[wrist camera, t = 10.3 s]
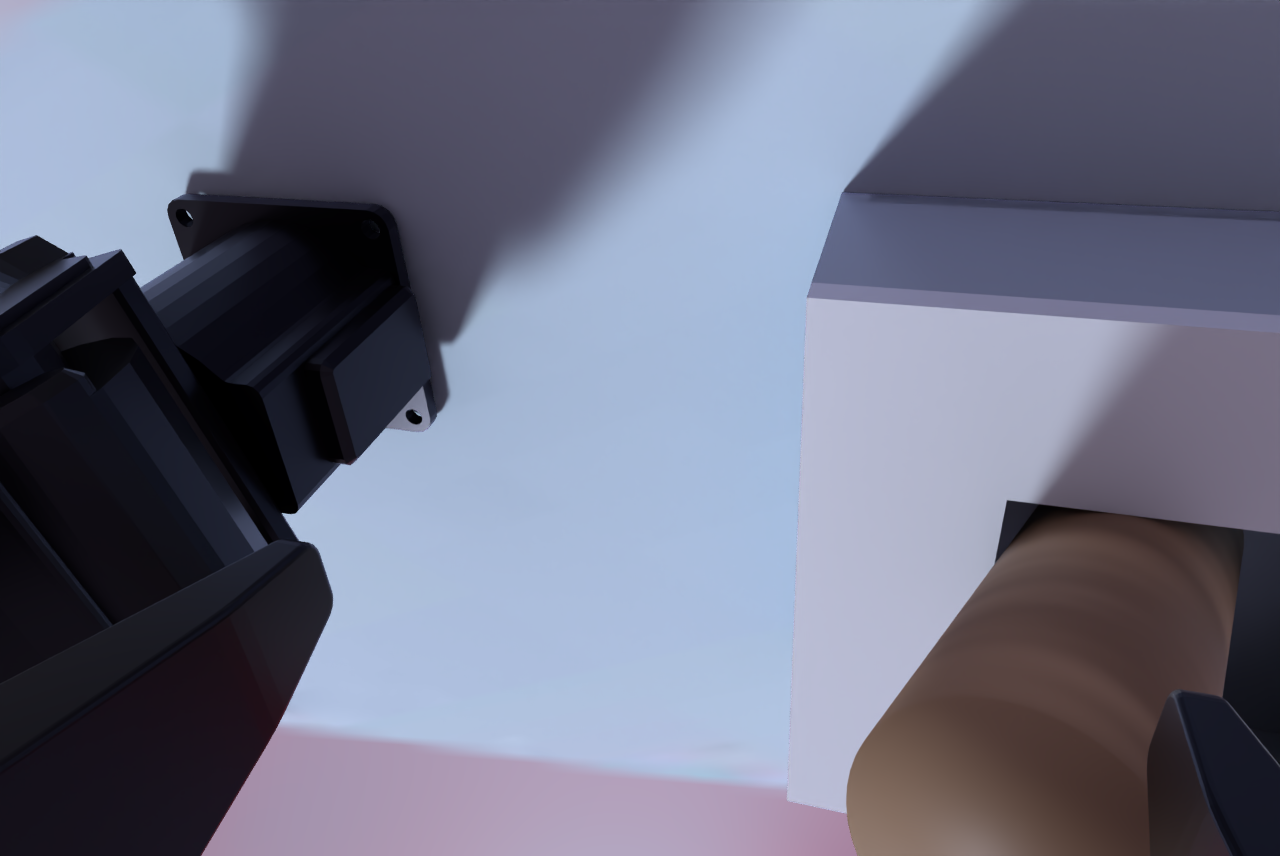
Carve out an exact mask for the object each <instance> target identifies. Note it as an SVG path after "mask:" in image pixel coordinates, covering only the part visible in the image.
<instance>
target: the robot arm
mask: <svg viewBox="0 0 1280 856" xmlns="http://www.w3.org/2000/svg"><path fill="white" fill-rule="evenodd" d="M167 211H168V216H169V220H170V222H171V225H172V228H173V231H174V234H175V237H176V239H177V242H178V245H179V248H180V251H181V254H182V256H183V259H184V261H182V262H180V263H179V264H177V265H176V266H174V267H172V268H171V269H169V270H168V271H166V272H165V273H163V274H161V275H160V276H158V277H157V278H155V279H153V280H152V281H150V282H149V283H147V284H145V285H144V286H142V287H141V288H140V287H139V286H138V284H137V283H136V281H135V279H134V278H133V276H134V275H135V274H136V272H135V270H134V269H133V267H132V265H131V264H130V262H129V261H128V259H127V257H126V256H125V254H124V253H123V251H122V250H121V249H119V250H115V251H112V252H108V253H105V254H102V255H98V256H95V257H91V258H88V257H87V256H85V255H84V256H79V257H76V256H75V255H74V253H73V252H71V253H67V252H65V251H63V250H62V249H60V248H58V247H56V246H55V245H53V244H51V243H49V242H48V241H46V240H44V239H42V238H41V237H39V236H37V235H36V236H33V237H29V238H26V239H23V240H20V241H17V242H15V243H13V244H11V245H9V246H7V247H5V248H3V249H1V250H0V856H201V855H202V853H203V852H204V850H205V848H206V847H207V845H208V843H209V841H210V840H211V838H212V837H213V835H214V833H215V832H216V830H217V828H218V827H219V825H220V823H221V822H222V820H223V818H224V817H225V815H226V813H227V812H228V810H229V808H230V807H231V805H232V803H233V801H234V800H235V798H236V796H237V795H238V793H239V791H240V790H241V788H242V786H243V785H244V783H245V781H246V779H247V778H248V776H249V775H250V773H251V771H252V769H253V768H254V766H255V765H256V763H257V761H258V760H259V758H260V756H261V755H262V753H263V751H264V749H265V748H266V746H267V744H268V743H269V741H270V739H271V737H272V735H273V734H274V732H275V730H276V728H277V726H278V724H279V722H280V720H281V718H282V716H283V715H284V713H285V711H286V709H287V706H288V704H289V702H290V700H291V698H292V696H293V694H294V691H295V689H296V687H297V685H298V683H299V681H300V679H301V676H302V674H303V672H304V670H305V668H306V666H307V664H308V662H309V659H310V657H311V655H312V653H313V651H314V649H315V647H316V644H317V642H318V640H319V638H320V636H321V634H322V632H323V629H324V627H325V625H326V623H327V621H328V619H329V616H330V614H331V610H332V606H333V594H332V590H331V587H330V584H329V581H328V578H327V575H326V572H325V568H324V565H323V562H322V559H321V556H320V553H319V551H318V549H317V548H316V547H315V546H314V545H313V544H310V543H307V542H301V541H299V540H298V538H297V537H296V535H295V533H294V532H293V530H292V529H291V527H290V526H289V524H288V522H287V521H286V519H285V518H284V516H283V514H282V513H287V514H295V513H296V512H297V511H298V510H299V509H300V508H301V507H302V506H303V505H304V503H305V502H306V501H307V500H308V499H309V498H310V497H311V496H312V495H313V494H314V493H315V491H316V490H317V489H318V488H319V487H320V486H321V485H322V484H323V483H324V482H325V480H326V479H327V478H328V477H329V476H330V475H331V474H332V473H333V472H334V471H335V470H336V468H337V467H338V466H339V465H340V464H345V465H351V464H353V463H354V462H355V461H356V460H357V459H358V458H359V457H360V456H361V455H362V454H363V452H364V451H365V450H366V449H367V448H368V447H369V446H370V445H371V443H372V442H373V441H374V440H375V439H376V438H377V437H378V436H379V435H380V433H381V432H382V431H383V430H384V429H385V428H390V429H398V430H406V431H414V432H423V431H425V430H427V429H428V428H429V427H430V426H431V424H432V423H433V422H434V421H435V419H436V417H437V410H436V406H435V401H434V396H433V392H432V387H431V382H430V377H431V369H430V365H429V360H428V355H427V351H426V346H425V341H424V336H423V332H422V327H421V322H420V318H419V313H418V308H417V303H416V299H415V296H414V294H413V292H412V291H411V289H410V285H409V280H408V275H407V271H406V266H405V261H404V257H403V252H402V247H401V243H400V238H399V233H398V229H397V224H396V222H395V219H394V217H393V216H392V214H391V213H390V212H389V211H388V210H387V209H385V208H384V207H382V206H380V205H376V204H364V203H346V202H327V201H309V200H291V199H273V198H255V197H236V196H218V195H200V194H185V195H182V196H180V197H178V198H176V199H174V200H172V201H171V202H170V203H169V205H168V209H167ZM186 211H188V212H189V213H190V214H191V216H192V218H193V220H192V219H191V218H190V217H189V216H188V214H187V212H186ZM370 220H371V221H374V222H375V223H376V224H377V225H378V227H379V229H380V233H379V232H376V231H375V230H374V229H373V228H372V227H371V225H370ZM413 410H416V411H417V412H419V413H420V414H421V416H422V417H421V416H418V415H417V414H416V413H415V412H414V411H413ZM1147 788H1148V812H1149V836H1150V856H1280V765H1279V764H1278V762H1277V761H1276V760H1275V759H1274V758H1273V756H1272V755H1271V754H1270V753H1269V751H1268V750H1267V749H1266V748H1265V747H1264V745H1263V744H1262V743H1261V742H1260V740H1259V739H1258V738H1257V737H1256V736H1255V734H1254V733H1253V732H1252V731H1251V729H1250V728H1249V727H1248V726H1247V725H1246V723H1245V722H1244V721H1243V720H1242V718H1241V717H1240V716H1239V715H1238V714H1237V712H1236V711H1235V710H1234V709H1233V707H1232V706H1231V705H1230V704H1229V703H1228V702H1227V701H1226V700H1225V699H1223V698H1222V697H1220V696H1217V695H1212V694H1206V693H1200V692H1194V691H1188V690H1182V689H1177V690H1174V691H1172V692H1171V693H1170V694H1169V696H1168V697H1167V699H1166V702H1165V705H1164V707H1163V710H1162V713H1161V715H1160V718H1159V721H1158V724H1157V726H1156V729H1155V732H1154V734H1153V737H1152V740H1151V743H1150V746H1149V750H1148V757H1147Z"/></svg>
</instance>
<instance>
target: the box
mask: <svg viewBox="0 0 1280 856" xmlns="http://www.w3.org/2000/svg"><path fill="white" fill-rule="evenodd" d="M1039 504H1043V505H1051V506H1059V507H1067V508H1075V509H1083V510H1091V511H1099V512H1107V513H1115V514H1124V515H1132V516H1140V517H1148V518H1156V519H1164V520H1172V521H1180V522H1188V523H1196V524H1204V525H1212V526H1220V527H1228V528H1236V529H1243V533H1244V549H1243V556H1242V563H1241V570H1240V577H1239V584H1238V591H1237V598H1236V605H1235V612H1234V619H1233V626H1232V633H1231V640H1230V647H1229V654H1228V661H1227V668H1226V675H1225V682H1224V689H1223V696H1222V698H1223V699H1225V700H1226V701H1227V702H1228V703H1229V704H1230V705H1231V706H1232V707H1233V709H1234V710H1235V711H1236V712H1237V714H1238V715H1239V716H1240V717H1241V718H1242V720H1243V721H1244V722H1245V723H1246V725H1247V726H1248V727H1249V728H1250V729H1251V731H1252V732H1253V733H1254V734H1255V736H1256V737H1257V738H1258V739H1259V740H1260V742H1261V743H1262V744H1263V745H1264V747H1265V748H1266V749H1267V750H1268V751H1269V753H1270V754H1271V755H1272V756H1273V758H1274V759H1275V760H1276V761H1277V762H1278V764H1279V765H1280V212H1272V211H1249V210H1227V209H1204V208H1182V207H1159V206H1137V205H1114V204H1092V203H1069V202H1047V201H1025V200H1002V199H980V198H957V197H935V196H912V195H890V194H867V193H845V192H842V194H841V197H840V200H839V203H838V206H837V209H836V212H835V215H834V218H833V221H832V224H831V227H830V230H829V233H828V236H827V239H826V242H825V245H824V248H823V251H822V254H821V257H820V260H819V262H818V265H817V268H816V271H815V274H814V277H813V280H812V283H811V286H810V289H809V292H808V295H807V301H806V327H805V352H804V378H803V403H802V428H801V454H800V479H799V505H798V530H797V555H796V581H795V606H794V632H793V657H792V682H791V708H790V733H789V759H788V784H787V801H791V802H795V803H800V804H804V805H809V806H814V807H818V808H823V809H828V810H833V811H837V812H842V813H846V814H847V808H846V793H847V783H848V778H849V773H850V769H851V766H852V764H853V761H854V758H855V756H856V754H857V752H858V750H859V749H860V747H861V745H862V744H863V742H864V740H865V739H866V738H867V736H868V735H869V734H870V732H871V731H872V729H873V728H874V727H875V725H876V724H877V723H878V721H879V720H880V719H881V717H882V716H883V715H884V713H885V712H886V711H887V709H888V708H889V706H890V705H891V704H892V702H893V701H894V700H895V698H896V697H897V696H898V694H899V693H900V692H901V690H902V689H903V688H904V686H905V685H906V683H907V682H908V681H909V679H910V678H911V677H912V675H913V674H914V673H915V671H916V670H917V669H918V667H919V666H920V665H921V663H922V662H923V660H924V659H925V658H926V656H927V655H928V654H929V652H930V651H931V650H932V648H933V647H934V646H935V644H936V643H937V642H938V640H939V639H940V637H941V636H942V635H943V633H944V632H945V631H946V629H947V628H948V627H949V625H950V624H951V623H952V621H953V620H954V619H955V617H956V616H957V614H958V613H959V612H960V610H961V609H962V608H963V606H964V605H965V604H966V602H967V601H968V600H969V598H970V597H971V596H972V594H973V593H974V591H975V590H976V589H977V587H978V586H979V585H980V583H981V582H982V581H983V579H984V578H985V577H986V575H987V574H988V573H989V571H990V570H991V568H992V567H993V566H994V564H995V563H996V562H997V560H998V559H999V558H1000V556H1001V555H1002V554H1003V552H1004V551H1005V550H1006V548H1007V547H1008V545H1009V544H1010V543H1011V541H1012V540H1013V539H1014V537H1015V536H1016V535H1017V533H1018V532H1019V531H1020V529H1021V528H1022V527H1023V525H1024V524H1025V522H1026V521H1027V520H1028V518H1029V517H1030V516H1031V514H1032V513H1033V512H1034V510H1035V509H1036V508H1037V506H1038V505H1039Z"/></svg>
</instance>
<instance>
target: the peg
mask: <svg viewBox="0 0 1280 856" xmlns="http://www.w3.org/2000/svg"><path fill="white" fill-rule="evenodd" d="M1243 549H1244V533H1243V529H1236V528H1228V527H1220V526H1212V525H1204V524H1196V523H1188V522H1180V521H1172V520H1164V519H1156V518H1148V517H1140V516H1132V515H1124V514H1115V513H1107V512H1099V511H1091V510H1083V509H1075V508H1067V507H1059V506H1051V505H1043V504H1039V505H1038V506H1037V508H1036V509H1035V510H1034V512H1033V513H1032V514H1031V516H1030V517H1029V518H1028V520H1027V521H1026V522H1025V524H1024V525H1023V527H1022V528H1021V529H1020V531H1019V532H1018V533H1017V535H1016V536H1015V537H1014V539H1013V540H1012V541H1011V543H1010V544H1009V545H1008V547H1007V548H1006V550H1005V551H1004V552H1003V554H1002V555H1001V556H1000V558H999V559H998V560H997V562H996V563H995V564H994V566H993V567H992V568H991V570H990V571H989V573H988V574H987V575H986V577H985V578H984V579H983V581H982V582H981V583H980V585H979V586H978V587H977V589H976V590H975V591H974V593H973V594H972V596H971V597H970V598H969V600H968V601H967V602H966V604H965V605H964V606H963V608H962V609H961V610H960V612H959V613H958V614H957V616H956V617H955V619H954V620H953V621H952V623H951V624H950V625H949V627H948V628H947V629H946V631H945V632H944V633H943V635H942V636H941V637H940V639H939V640H938V642H937V643H936V644H935V646H934V647H933V648H932V650H931V651H930V652H929V654H928V655H927V656H926V658H925V659H924V660H923V662H922V663H921V665H920V666H919V667H918V669H917V670H916V671H915V673H914V674H913V675H912V677H911V678H910V679H909V681H908V682H907V683H906V685H905V686H904V688H903V689H902V690H901V692H900V693H899V694H898V696H897V697H896V698H895V700H894V701H893V702H892V704H891V705H890V706H889V708H888V709H887V711H886V712H885V713H884V715H883V716H882V717H881V719H880V720H879V721H878V723H877V724H876V725H875V727H874V728H873V729H872V731H871V732H870V734H869V735H868V736H867V738H866V739H865V740H864V742H863V744H862V745H861V747H860V749H859V750H858V752H857V754H856V756H855V758H854V761H853V764H852V766H851V769H850V773H849V778H848V783H847V793H846V808H847V818H848V825H849V829H850V833H851V838H852V841H853V844H854V846H855V850H856V852H857V855H858V856H1150V836H1149V812H1148V788H1147V757H1148V750H1149V746H1150V743H1151V740H1152V737H1153V734H1154V732H1155V729H1156V726H1157V724H1158V721H1159V718H1160V715H1161V713H1162V710H1163V707H1164V705H1165V702H1166V699H1167V697H1168V696H1169V694H1170V693H1171V692H1172V691H1174V690H1177V689H1182V690H1188V691H1194V692H1200V693H1206V694H1212V695H1217V696H1220V697H1222V696H1223V689H1224V682H1225V675H1226V668H1227V661H1228V654H1229V647H1230V640H1231V633H1232V626H1233V619H1234V612H1235V605H1236V598H1237V591H1238V584H1239V577H1240V570H1241V563H1242V556H1243Z"/></svg>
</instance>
